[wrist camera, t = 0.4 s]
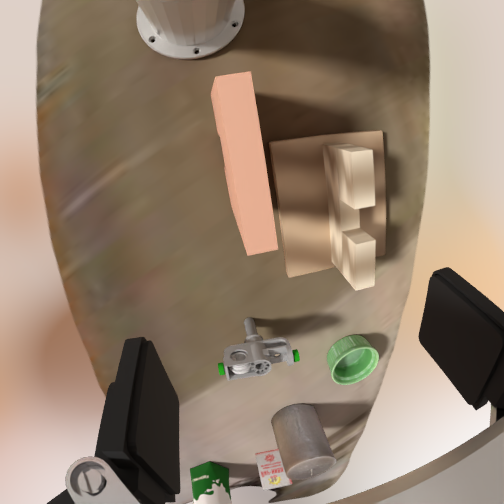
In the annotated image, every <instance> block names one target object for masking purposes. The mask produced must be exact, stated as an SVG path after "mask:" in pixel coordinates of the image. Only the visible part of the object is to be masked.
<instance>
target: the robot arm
mask: <svg viewBox="0 0 504 504" xmlns="http://www.w3.org/2000/svg"><path fill="white" fill-rule="evenodd" d="M136 1H137V3H138V5H139V7H138V11H137V27H138V31H139V33H140V35H141V37H142V39H143V40H144V41H145V43H146V44H147V45H148V46H149V47H150V48H152V49H153V50H154V51H156V52H158V53H159V54H161V55H164V56H166V57H169V58H174V59H188V60H190V59H197V58H202V57H205V56H208V55H211V54H213V53H215V52H217V51H219V50H221V49H222V48H224V47H225V46H226V45H228V44H229V43H230V42H231V41H232V40H233V39H234V38H235V36H236V35H237V33H238V32H239V30H240V28H241V26H242V23H243V19H244V13H245V7H244V2H243V0H136ZM233 24H235V25H236V27H233V26H232V25H233ZM153 39H154V40H155V42H153V43H152V42H151V41H152V40H153ZM195 51H199V53H198V54H195ZM419 341H420V343H421V345H422V346H423V347H424V348H425V350H426V351H427V352H428V353H429V354H430V356H431V357H432V358H433V359H434V361H435V362H436V363H437V364H438V366H439V367H440V368H441V369H442V371H443V372H444V373H445V375H446V376H447V377H448V378H449V379H450V381H451V382H452V384H453V385H454V386H455V387H456V389H457V390H458V391H459V393H460V394H461V395H462V397H463V398H464V399H465V401H466V402H467V403H468V404H469V405H472V406H473V407H474V408H475V410H477V409H479V408H481V407H482V406H484V405H485V404H487V402H488V400H489V401H490V403H491V416H490V427H489V428H487V429H485V430H484V431H482V432H481V433H479V434H478V435H476V436H475V437H473V438H471V439H470V440H468V441H467V442H465V443H464V444H462V445H460V446H459V447H457V448H455V449H453V450H452V451H450V452H448V453H446V454H445V455H443V456H441V457H439V458H437V459H435V460H433V461H432V462H430V463H428V464H426V465H424V466H422V467H420V468H418V469H416V470H414V471H412V472H409V473H407V474H405V475H403V476H401V477H398V478H396V479H394V480H392V481H389V482H387V483H384V484H382V485H380V486H377V487H375V488H372V489H369V490H367V491H364V492H361V493H358V494H356V495H353V496H350V497H347V498H344V499H341V500H338V501H335V502H331V503H328V504H504V312H503V311H502V310H501V309H500V308H499V307H497V306H496V305H495V304H494V303H493V302H492V301H490V300H489V299H488V298H487V297H486V296H484V295H483V294H482V293H481V292H480V291H478V290H477V289H476V288H475V287H473V286H472V285H471V284H470V283H468V282H467V281H466V280H465V279H463V278H462V277H461V276H460V275H458V274H457V273H456V272H455V271H453V270H452V269H451V268H449V267H446V268H443V269H440V270H437V271H434V272H433V274H432V277H430V280H429V285H428V291H427V297H426V303H425V308H424V313H423V318H422V322H421V327H420V332H419ZM65 481H66V487H67V489H66V490H65V491H63V492H62V493H61V494H59V495H58V496H56V497H55V498H54V499H52V500H51V501H49V502H48V503H47V504H165V502H175V494H179V493H180V463H179V400H178V396H177V394H176V392H175V390H174V388H173V386H172V384H171V382H170V380H169V378H168V376H167V373H166V371H165V369H164V367H163V365H162V363H161V360H160V358H159V356H158V354H157V352H156V349H155V347H154V345H153V343H152V341H146V339H145V338H144V337H139V338H132V339H127V340H126V341H125V343H124V347H123V351H122V355H121V359H120V363H119V367H118V372H117V376H116V380H115V382H113V383H111V384H110V385H109V388H108V392H107V396H106V400H105V405H104V410H103V414H102V419H101V424H100V429H99V434H98V440H97V445H96V451H95V457H84V458H81V459H79V460H77V461H76V462H74V463H73V464H72V465H71V466H70V468H69V469H68V471H67V474H66V478H65Z"/></svg>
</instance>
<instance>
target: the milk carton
mask: <svg viewBox="0 0 504 504" xmlns="http://www.w3.org/2000/svg"><path fill="white" fill-rule="evenodd" d="M190 473H191V481H192V490H193V504H232V502H231V496H230V488H229V469H227V468H225V467H222V466H220V465H217V464H215V463H213V462H210V461H209V462H207V463H204V464H202V465H199V466H197V467H194V468H191V469H190Z"/></svg>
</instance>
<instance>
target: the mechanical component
mask: <svg viewBox="0 0 504 504" xmlns="http://www.w3.org/2000/svg"><path fill="white" fill-rule="evenodd" d="M244 324H245V330H246V333H247V338H246V339H245V342H244V344H238V345H232V346H229V347H227V348H226V349H225V350H224V357H223V360H224V364H223V363H218V368H219V373H220V375H225V372H226V376H227V380H235V379H241V378H247V377H253V376H263V375H265V374H267V373H269V372H270V370H271V364H273V363H278V362H283V361H287V364H288V366H291V365H294V362H297V361H299V360H300V359H299V353H298V350H297V349H296V350H292V349H291V346H290V343H289V341H288V340H287V339H286V338H283V337H278V338H272V339H267V340H263V338H262V337H261V336H260V335H258V333H257V330H256V326H255V322H254V320H253V318H246V319H245V321H244ZM279 353H280V355H279V356H274V355H275V354H279Z"/></svg>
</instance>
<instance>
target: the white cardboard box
mask: <svg viewBox="0 0 504 504" xmlns="http://www.w3.org/2000/svg"><path fill="white" fill-rule="evenodd" d="M255 455H256V460H257V465H258V470H259V475H260V479H261V483H262V487H263V490H267V489H272V488H277V487H282V486H286V485H291V484H292V481H291V479H289V478H287V476H286V473H285V470H284V467H283V463H282V460H281V456H280V453H279V449H275V450H271V451H266V452H261V453H256V454H255Z"/></svg>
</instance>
